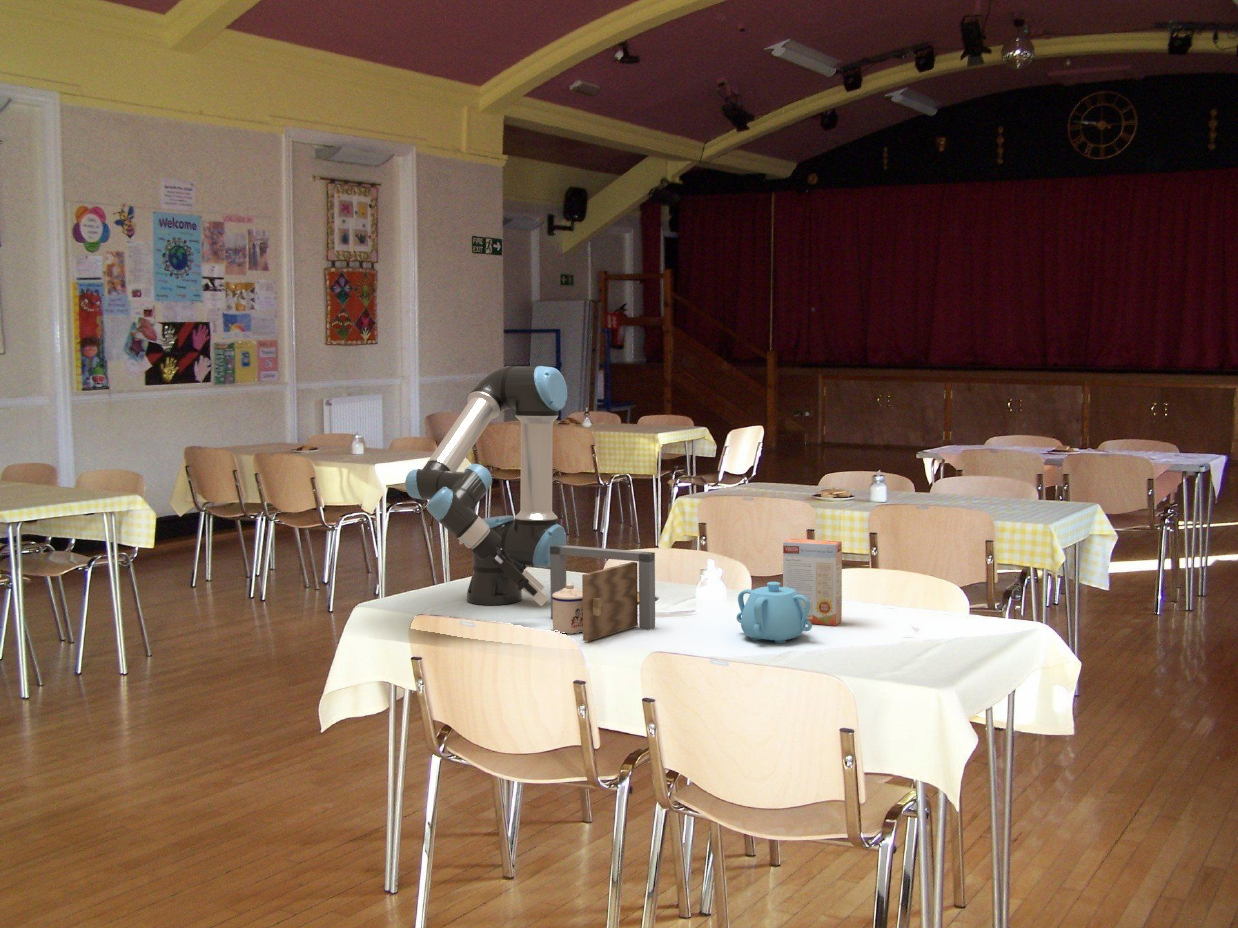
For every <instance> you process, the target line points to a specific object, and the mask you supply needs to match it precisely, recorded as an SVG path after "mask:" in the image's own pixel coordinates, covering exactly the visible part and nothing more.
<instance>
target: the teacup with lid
mask: <svg viewBox="0 0 1238 928" xmlns="http://www.w3.org/2000/svg"><path fill="white" fill-rule="evenodd" d="M552 599H553V619H552V630H553V631H554V630H558V631H560V632H565V633H567V634H566V635H574V634H573V633H577V634H580V633H579V632H582V633H583V595H582V590H580V589H579V588H576V587H575V584H573V583H566V588H563V589H561V590H560V591H558V592H555V593H553V595H552Z"/></svg>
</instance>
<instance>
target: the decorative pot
mask: <svg viewBox="0 0 1238 928" xmlns="http://www.w3.org/2000/svg"><path fill="white" fill-rule="evenodd" d="M766 585H767V586H761V587H757V588H754V589H749V588H748V589H747V588H746V589H744V590H742V591H740V592H739V594H738V596H737V602H738V607H739V611H740V612H738V613H737V615H736V621H737V622H738V623H740V628H741V630H742V631H743V633H744V634H745V636H746V637H749V638H750V640H751V641H761V640H768V641H774V643H775V644H786V643H787V642H786V641H787V640H791V639H794V638H797V637H799V636H801V634H802V633H803V632H809V631H811V630H812V628H813V624H812V623H811V622H810V621H809V620H806V619H807V617H808V614H809V611H810V601H809V599H808V598H807V597H805V596H803V595H798V593H797V591H796V590H795V589H792V588H788V587H783V586H781V582H778V581H768V582H767V583H766ZM746 594H748V598H747V599H746V602H744V596H745V595H746ZM800 599H801V600H803V601H804V602H805V605H806V607H805V611H804V607H803V604H802V602H801V600H800Z"/></svg>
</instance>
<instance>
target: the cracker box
mask: <svg viewBox="0 0 1238 928" xmlns="http://www.w3.org/2000/svg"><path fill="white" fill-rule="evenodd" d="M782 544H783V546H782V548H783V549H782V551H783V552H782V554H783V555H782V557H783V558H782V587H788V588H792V589H795V590H796V591H797V593H798V595H803V596H805V597H807V598H808V599H809V601H810V611H809V614H808V617H807V619H806V620H809V621H810V622H811V623H812V625H822V626H830V627H831V626H832V627H835V626H837V625H839V624H840V623H841V622H842V618H843V617H842V615H843V612H842V609H843V607H842V606H843V604H842V603H843V602H842V601H843V595H842V594H843V591H842V589H843V585H842V584H843V582H842V579H843V576H842V575H843V573H842V572H843V542H842V541H841V540H840V541H839V540H838V541H837V540H823V539H820V540H819V539H808V538H807V539H806V538H789V539H787V540H784V541H783V542H782ZM800 600H801V599H800ZM801 602H802V604H803V607H804V611H805V607H806V605H805V602H804V601H803V600H801Z"/></svg>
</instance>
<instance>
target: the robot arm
mask: <svg viewBox="0 0 1238 928" xmlns="http://www.w3.org/2000/svg"><path fill="white" fill-rule="evenodd" d="M567 401H568V387H567V383H566V380H565V377H564V376H563V374H562V372H560V370H558V368H555V367H552V366H543V365H538V366H537V365H536V366H534V365H532V366H531V365H529V366H528V365H527V366H525V365H524V366H521V365H520V366H519V365H517V366H514V365H508V366H506V365H505V366H503V367H499V368H497V369H495V370H494V371H491V372H490V373H489V374H487V375H486V376H484V377H483V379H481V380H480V381H479V382H478V383H477V384H476V385H475V387H474V388H473V389H472V390H471V392H470V393H469V395H468V396H467V400H466V402H467V404H466V405H465V407H464V409H462V411H461V413H460V414H459V415H458V417H457V418H456V420H455V422H454V423H453V425H452V426H451V427H450V429H449V430H448V431H447V433H446V434H445V435H444V438H443V439H442V440H441V441H440V443H439V445H438V446H437V447H436V449H435V451H433V453H432V455H431V456H430V457H429V459H428V460H427V462H426V463H425V465H424V466H423V467H422V468H416V469H412V470H411V471H409V472H408V473H407V475H406V477H405V482H404V486H405V490H406V493H407V494H408V496H409V497H411V498H412V499H417V500H423V501H427V500H428V502H427V503H426V510H427V512H428V513H429V514H430V515H431V516H432V517H433V518H434V519H435V520H436V521H437V522H439V524H441V525H442V526H443V527H444V528H445V529H446V530H447V531H448V532H449V533H451V534H452V535H453V536H454V537H455V538H456V539H458V543H459V545H461V546H462V545H463V544H464V546H465V547H466V548H467V549H471V553H472V575H471V579H470V582H469V584H468V588H467V592H466V601H467V602H469V603H470V604H472V605H473V604H474V605H482V606H499V605H500V606H501V605H502V606H503V605H509V604H513V603H514V604H515V603H518V602H520V601H522V598H523V596H522V595H523V594H522V592H523V591H524V592H525V593H526V594H527V595H528V596H529V597H530V598H532V599H533V600H534V602H536V604H538V605H539V606H540V607H543V606H544V605H545V603H547V602H548V601H549V599H550V598H549V596H547V595H546V593H544V592H543V591H542V590H543V589H544V588H545V586H544V585H543V583H541V582H540V581H539V580H538V579H537V578H536V577H535V576H534V575H533V574H532V573H531V572H529V571H528V569H527V567H528V566H529V567H534V568H550V546H553V545H567V533H566V530H565V527H563V525H562V526H561V525H560V524H558V522H559V521H558V520H559V519H558V516H557V514H555V512H554V511H553V450H554V447H553V442H554V441H553V439H554V438H553V437H554V435H553V433H554V432H553V431H554V430H553V424H554V421H556V420H557V419H558V417H559V411H561V410H563V409H564V408H565V406H566V405H567V404H566V403H567ZM510 409H511V410H514V415H515V418H516V419H517V420H518V421H519V422H520V499H519V501H520V505H519V506H520V508H519V509H520V511H519V512H518V513H517V514H516V515H515V516H514V515H499V516H492V517H491V516H490V517H485V518H482V517H480V516H479V515H478V514H477V513H476V512H475V511H474V509H475V507H476V506H477V505H478V504H479V502H480V501H481V500H482V499H483V497H484V496H485V495H486V494H487V492H488V491H489V489H490V487H491V485H492V483H493V477H492V474H491V472H490V471H489V469H488V468H487V467H484V466H483V465H481V464H480V463H479V464H478V463H472V464H470V465H469V466H468V467H466V468H464V471H458V470H459V468H460V467H461V465H462V464H463V462H464V460H465V459H466V458H467V456H468V454H469V453H470V452H471V450H472V448H473V447H474V446H475V444H476V442H477V441H478V440H479V438H480V437H481V435H482V434H483V432H484V430H485V429H486V428H487V427H488V424H489V423H490V422H491V421H492V420H494V419H496V418H498V417H499V415H501V412H503V411H505V410H510ZM522 590H523V591H522Z"/></svg>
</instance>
